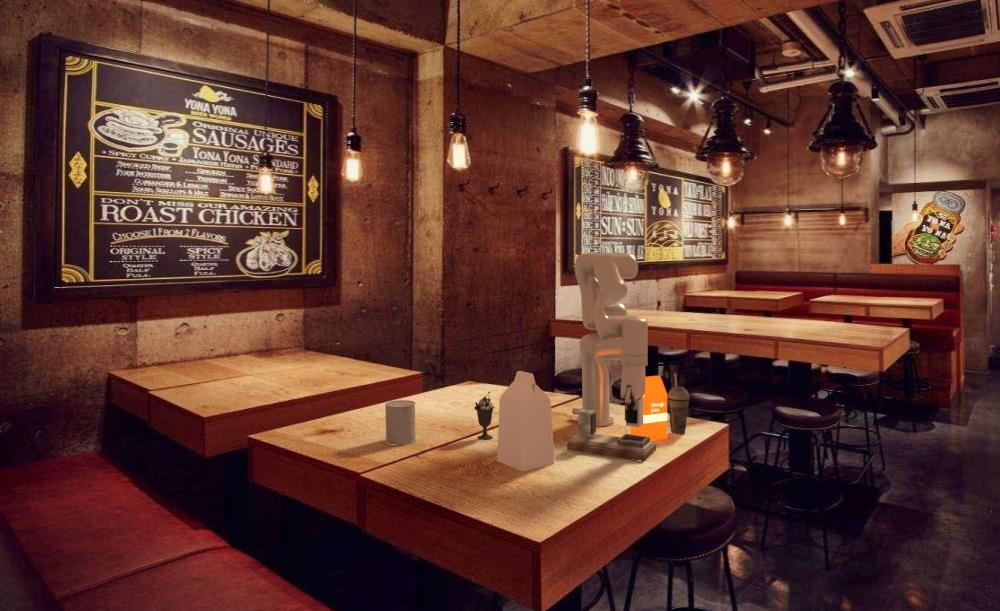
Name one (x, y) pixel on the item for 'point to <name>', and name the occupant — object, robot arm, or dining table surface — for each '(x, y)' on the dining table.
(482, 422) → the sundae
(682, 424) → the beverage cup
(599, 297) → the robot arm
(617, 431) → the dining table surface
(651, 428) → the orange juice
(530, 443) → the milk
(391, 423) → the gray can
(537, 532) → the dining table surface
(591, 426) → the rail board
